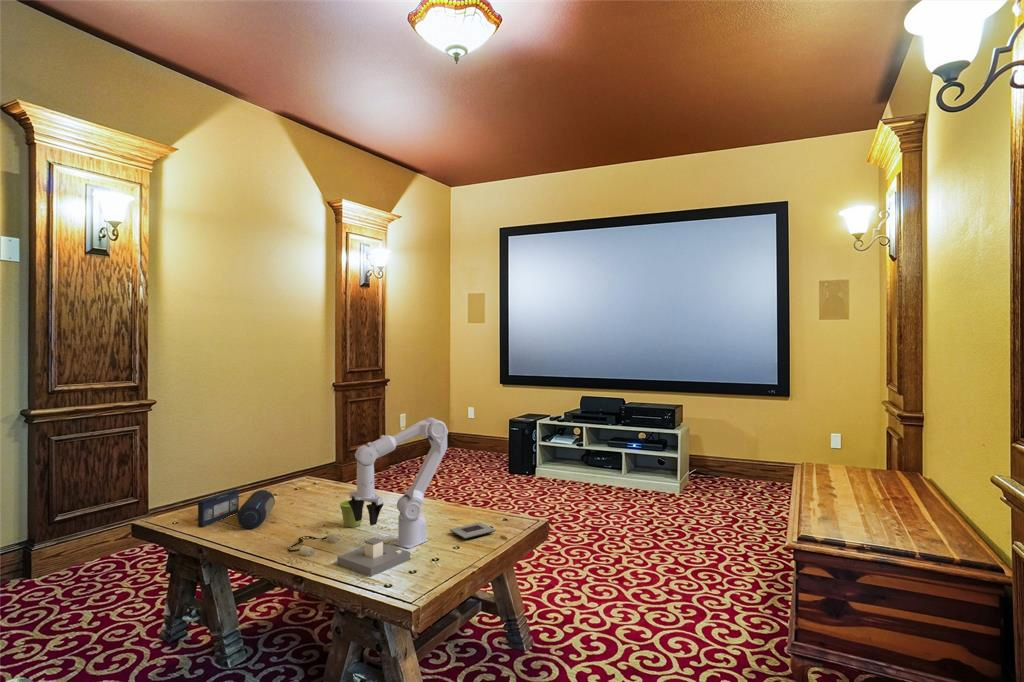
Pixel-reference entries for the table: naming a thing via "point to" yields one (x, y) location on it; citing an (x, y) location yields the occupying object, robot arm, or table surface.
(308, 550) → the cable
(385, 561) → the socket block
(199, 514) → the vhs cassette tape
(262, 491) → the portable speaker
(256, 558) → the table surface
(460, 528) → the electrical outlet
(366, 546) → the plug
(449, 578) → the table surface
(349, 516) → the plant pot
